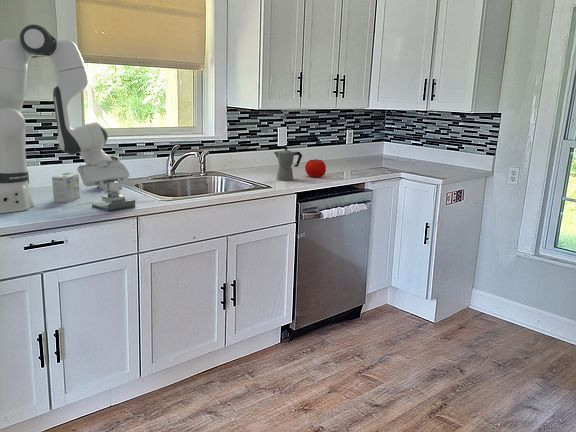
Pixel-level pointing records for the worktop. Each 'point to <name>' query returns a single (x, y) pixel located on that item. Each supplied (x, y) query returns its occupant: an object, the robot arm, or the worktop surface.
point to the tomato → (315, 168)
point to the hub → (113, 193)
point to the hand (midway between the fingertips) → (114, 190)
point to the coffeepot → (286, 164)
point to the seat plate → (115, 205)
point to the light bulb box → (66, 187)
